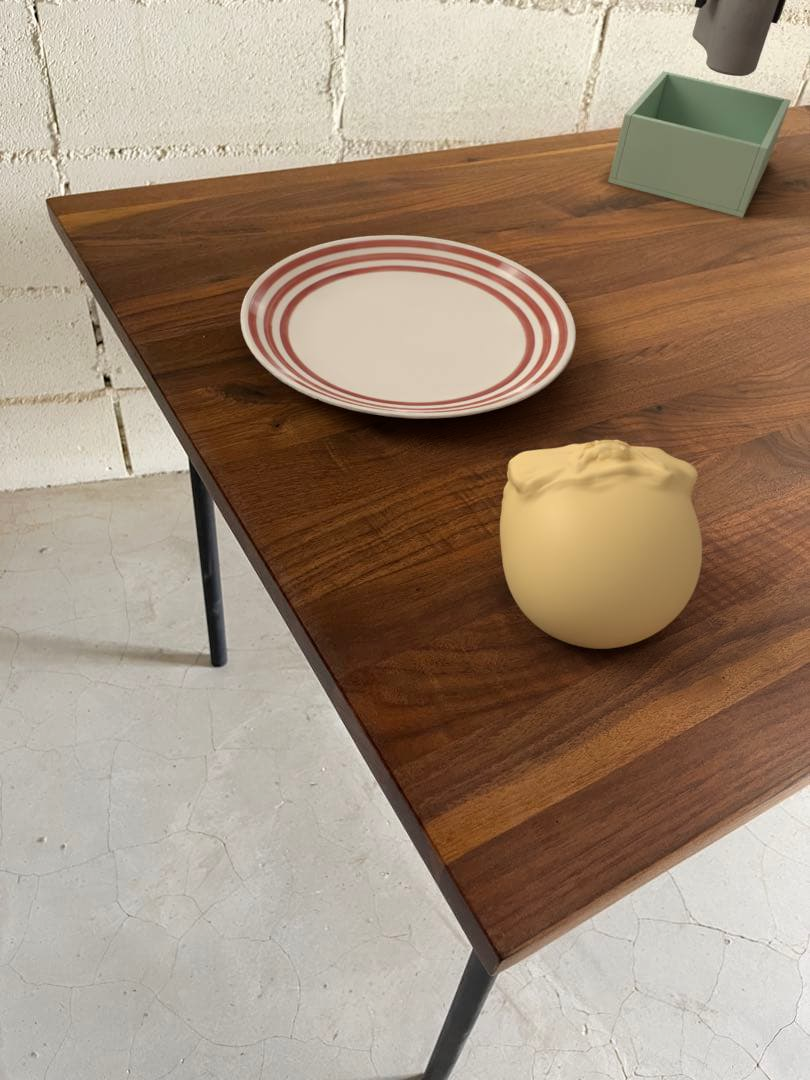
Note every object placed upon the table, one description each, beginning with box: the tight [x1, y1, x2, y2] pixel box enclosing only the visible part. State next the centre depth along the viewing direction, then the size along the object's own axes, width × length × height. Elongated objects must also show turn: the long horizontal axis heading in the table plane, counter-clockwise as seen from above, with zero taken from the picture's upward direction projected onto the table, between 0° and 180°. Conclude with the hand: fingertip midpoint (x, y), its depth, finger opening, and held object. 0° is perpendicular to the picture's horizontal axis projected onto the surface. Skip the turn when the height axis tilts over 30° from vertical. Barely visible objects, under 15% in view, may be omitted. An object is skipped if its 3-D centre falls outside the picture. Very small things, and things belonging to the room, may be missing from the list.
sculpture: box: [499, 439, 703, 650], centre depth 52 cm, size 12×12×11 cm
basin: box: [607, 70, 792, 218], centre depth 103 cm, size 16×18×8 cm
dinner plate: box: [240, 234, 577, 419], centre depth 74 cm, size 28×27×3 cm
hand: (737, 12), depth 93 cm, fingers closed on flask, 7 cm apart
